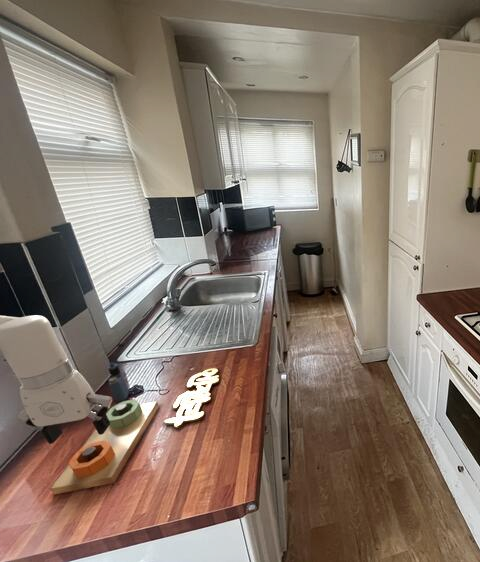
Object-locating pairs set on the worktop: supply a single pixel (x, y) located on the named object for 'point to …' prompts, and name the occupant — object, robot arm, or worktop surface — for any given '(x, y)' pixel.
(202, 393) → the lettering
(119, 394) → the vaping device
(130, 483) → the worktop surface
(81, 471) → the orange ring
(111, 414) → the green ring
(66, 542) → the worktop surface
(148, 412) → the peg board
